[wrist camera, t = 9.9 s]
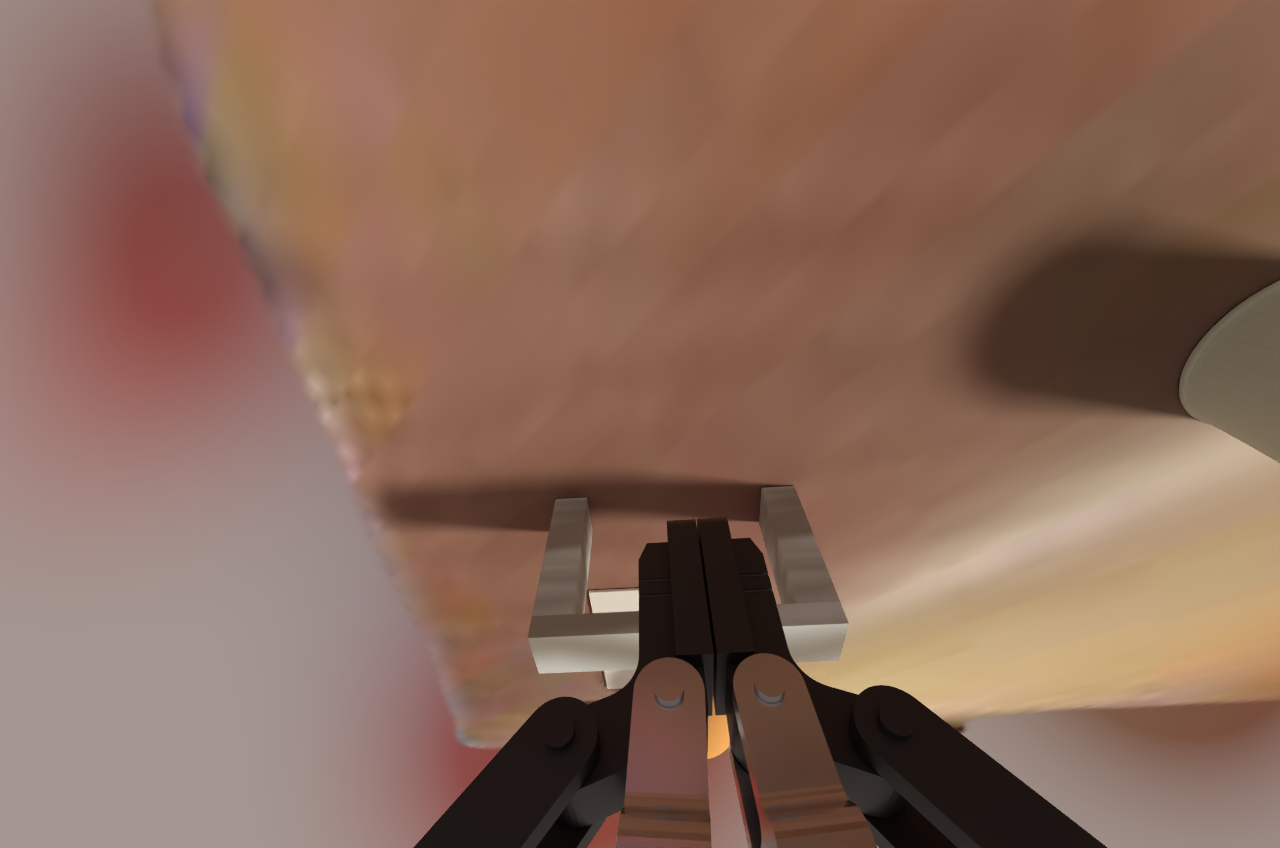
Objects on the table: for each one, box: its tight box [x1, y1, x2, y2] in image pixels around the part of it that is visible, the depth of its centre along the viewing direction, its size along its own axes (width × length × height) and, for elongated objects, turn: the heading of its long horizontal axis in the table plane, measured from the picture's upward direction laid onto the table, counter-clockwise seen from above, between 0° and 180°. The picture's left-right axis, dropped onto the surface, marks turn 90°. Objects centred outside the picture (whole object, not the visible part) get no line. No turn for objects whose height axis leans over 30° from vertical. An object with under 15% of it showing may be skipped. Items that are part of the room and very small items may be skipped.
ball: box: [707, 700, 730, 759], centre depth 41 cm, size 6×6×6 cm
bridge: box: [528, 486, 849, 673], centre depth 28 cm, size 3×15×10 cm, turn 94°
